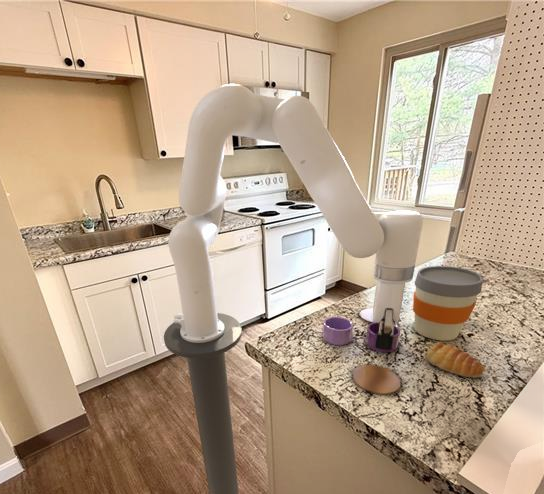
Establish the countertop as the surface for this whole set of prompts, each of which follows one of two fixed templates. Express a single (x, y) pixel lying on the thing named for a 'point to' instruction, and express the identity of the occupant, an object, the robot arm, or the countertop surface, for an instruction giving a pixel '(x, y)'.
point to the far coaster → (367, 315)
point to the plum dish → (372, 336)
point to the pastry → (454, 360)
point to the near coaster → (376, 379)
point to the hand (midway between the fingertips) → (382, 337)
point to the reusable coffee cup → (444, 300)
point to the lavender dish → (337, 330)
